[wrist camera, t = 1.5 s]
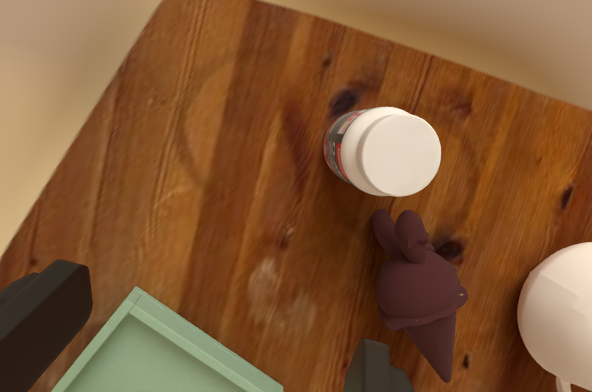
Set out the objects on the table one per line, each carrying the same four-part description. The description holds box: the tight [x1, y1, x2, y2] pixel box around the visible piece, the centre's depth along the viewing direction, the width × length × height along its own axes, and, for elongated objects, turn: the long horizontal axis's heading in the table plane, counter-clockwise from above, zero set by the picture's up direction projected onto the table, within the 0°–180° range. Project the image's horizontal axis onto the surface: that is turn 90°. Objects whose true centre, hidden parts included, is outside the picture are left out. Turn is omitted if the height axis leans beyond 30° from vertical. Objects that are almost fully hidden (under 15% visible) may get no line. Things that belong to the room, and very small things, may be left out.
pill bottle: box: [324, 107, 441, 197], centre depth 26 cm, size 6×6×10 cm
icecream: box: [372, 209, 468, 383], centre depth 30 cm, size 7×7×15 cm
